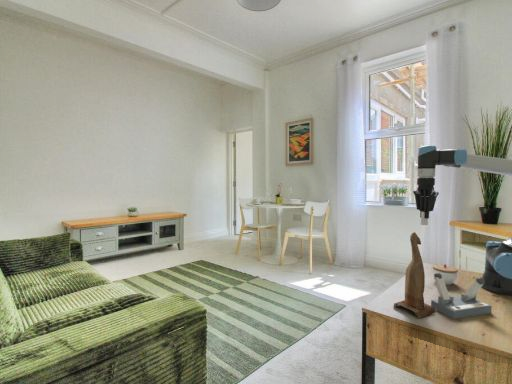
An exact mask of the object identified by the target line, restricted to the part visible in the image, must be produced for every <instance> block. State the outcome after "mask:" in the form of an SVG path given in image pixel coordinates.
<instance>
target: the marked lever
mask: <svg viewBox="0 0 512 384" xmlns="http://www.w3.org/2000/svg"><path fill="white" fill-rule="evenodd" d="M484 283H485V281H484V279H483V278H482V276H481V277H479V276H478V277H476V278H475V280H474V281H473V283H472V284H471V285H470V287H469V288H468V290H467V291H466V293H465V294H466V295H467V299H473V298H474V297H475V295H476V296H477V294H478V292H479V291H480V290H481V288H482V285H483V284H484Z"/></svg>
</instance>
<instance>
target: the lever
mask: <svg viewBox="0 0 512 384" xmlns="http://www.w3.org/2000/svg"><path fill="white" fill-rule="evenodd" d="M433 280H434V282H435V285H436V289H437V292H438V296H441V297H443V298H444V303H445V302H451V299H450V297H449V295H450V294H449V291H448V288H447V285H446V284H445V282H444V279H443V277H442V275H441V274H440V273H435V274H434V275H433Z"/></svg>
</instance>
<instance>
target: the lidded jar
mask: <svg viewBox="0 0 512 384" xmlns="http://www.w3.org/2000/svg"><path fill="white" fill-rule="evenodd" d="M435 273H440V274H441V275H442V277H443V279H444V282H445V285H446V286H447V285H448V286H449V285H452V284H453V283H455V282H456V280H457V278H458V273H459V269H458V268H457V267H455V266H451V265H447V264H433V265H432V275H433V276H434V274H435Z"/></svg>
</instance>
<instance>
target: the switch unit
mask: <svg viewBox="0 0 512 384" xmlns="http://www.w3.org/2000/svg"><path fill="white" fill-rule="evenodd" d="M449 297H450V299H451V302H445V303H444V298H443V297H441V296H440V295H438V298H437V299H436V298H435V299H431V300H430V306H433V307H434V308H435V311H438V312H440V313H442V314H443V315H446V316H447V317H449V318H451V319H452V320H457V319H462V318H464V319H465V318H468V317H475V316H481V315H489V314H492V305H491V304H488V303H486V302H483V301H482V300H479V299H477V294H476V295H475V297H474V298H473V299H467V295H466V293H464V292H462V293H461V295H459V296H453V295H450V294H449Z"/></svg>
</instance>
